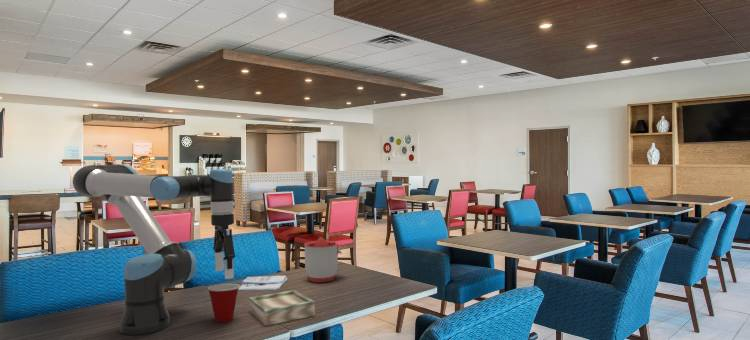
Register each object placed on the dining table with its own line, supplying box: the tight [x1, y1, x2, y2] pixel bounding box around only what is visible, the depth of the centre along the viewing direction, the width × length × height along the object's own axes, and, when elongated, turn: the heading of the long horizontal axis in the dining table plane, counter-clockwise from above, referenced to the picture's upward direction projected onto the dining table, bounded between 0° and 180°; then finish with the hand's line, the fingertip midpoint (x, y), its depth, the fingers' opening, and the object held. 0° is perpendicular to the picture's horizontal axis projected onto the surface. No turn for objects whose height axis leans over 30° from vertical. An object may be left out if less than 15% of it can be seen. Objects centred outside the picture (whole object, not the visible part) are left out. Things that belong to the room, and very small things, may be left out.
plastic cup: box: [206, 283, 241, 324], centre depth 159 cm, size 11×11×12 cm
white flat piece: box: [238, 275, 288, 291], centre depth 205 cm, size 19×20×2 cm
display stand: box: [248, 289, 316, 327], centre depth 165 cm, size 18×18×5 cm
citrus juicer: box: [303, 236, 343, 283], centre depth 211 cm, size 16×17×20 cm
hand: (224, 274), depth 159 cm, fingers open, 13 cm apart
